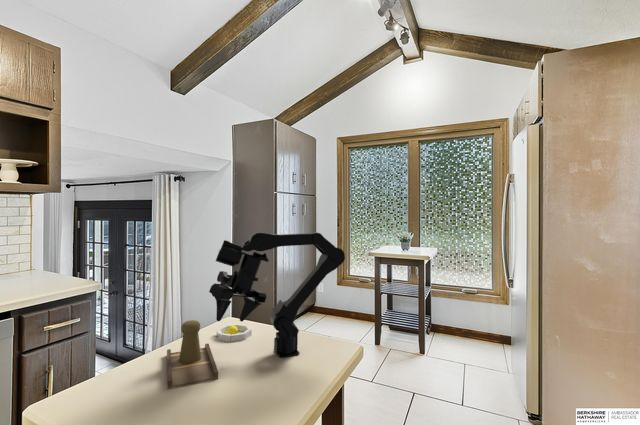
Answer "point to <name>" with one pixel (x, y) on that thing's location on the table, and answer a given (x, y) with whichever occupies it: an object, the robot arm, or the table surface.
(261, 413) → the table surface
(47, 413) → the table surface
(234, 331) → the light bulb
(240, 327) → the white dish rim
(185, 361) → the olive pawn shaped piece
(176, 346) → the table surface
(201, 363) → the channel board
